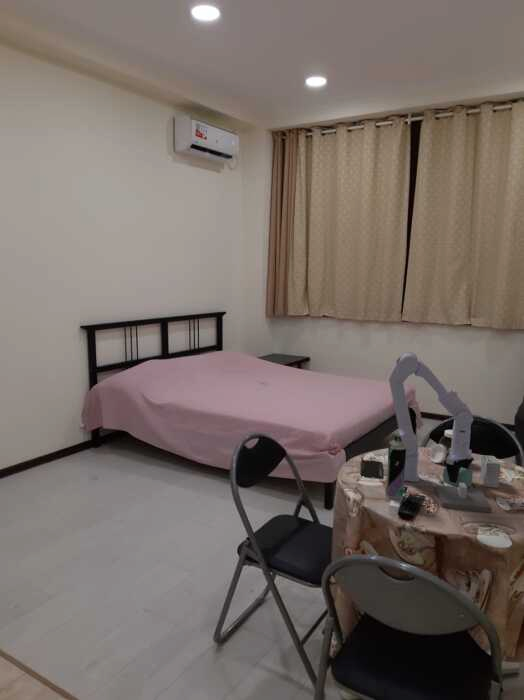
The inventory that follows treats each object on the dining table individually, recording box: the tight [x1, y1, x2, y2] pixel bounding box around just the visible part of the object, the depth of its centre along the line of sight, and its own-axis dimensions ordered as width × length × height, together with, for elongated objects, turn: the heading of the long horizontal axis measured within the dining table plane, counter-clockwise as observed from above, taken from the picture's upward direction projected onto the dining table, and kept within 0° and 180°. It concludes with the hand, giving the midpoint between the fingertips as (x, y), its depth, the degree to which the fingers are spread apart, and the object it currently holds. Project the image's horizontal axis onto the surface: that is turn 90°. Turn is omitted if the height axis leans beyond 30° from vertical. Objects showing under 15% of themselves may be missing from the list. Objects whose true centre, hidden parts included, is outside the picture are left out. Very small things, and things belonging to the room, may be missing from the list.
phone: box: [359, 459, 384, 479], centre depth 185 cm, size 8×1×15 cm
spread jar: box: [429, 429, 458, 464], centre depth 194 cm, size 12×11×12 cm
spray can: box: [385, 435, 406, 500], centre depth 162 cm, size 6×6×20 cm
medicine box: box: [479, 455, 501, 489], centre depth 174 cm, size 8×4×9 cm, turn 168°
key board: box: [435, 483, 492, 513], centre depth 160 cm, size 14×14×5 cm
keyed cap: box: [442, 466, 474, 488], centre depth 174 cm, size 5×8×5 cm
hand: (457, 479), depth 174 cm, fingers open, 7 cm apart
